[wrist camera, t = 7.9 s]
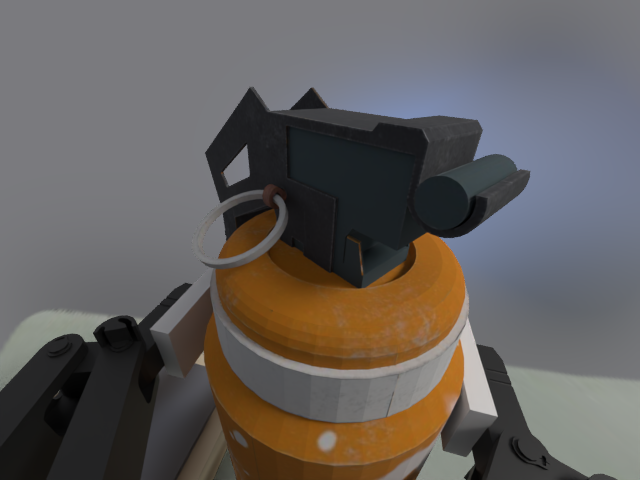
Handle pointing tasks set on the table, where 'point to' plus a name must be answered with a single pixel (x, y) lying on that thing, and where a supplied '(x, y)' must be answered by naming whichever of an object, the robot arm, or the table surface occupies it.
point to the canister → (341, 286)
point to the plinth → (184, 429)
